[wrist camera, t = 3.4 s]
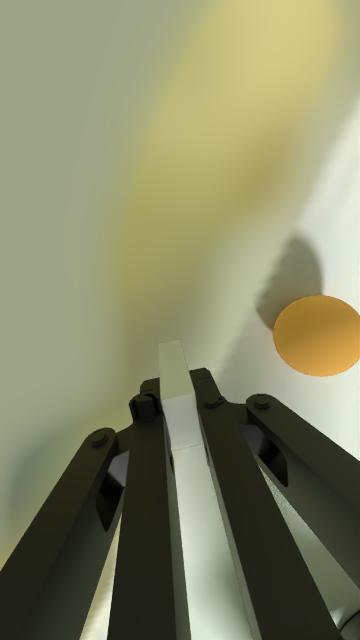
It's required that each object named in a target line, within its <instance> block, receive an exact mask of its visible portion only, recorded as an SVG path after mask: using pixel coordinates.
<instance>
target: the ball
mask: <svg viewBox="0 0 360 640" xmlns="http://www.w3.org/2000/svg"><path fill="white" fill-rule="evenodd" d="M273 339H274V344H275V347H276V350H277V352H278V353H279V355H280V356H281V358H282V359H283V360H284V361H285V362H286V363H287V364H288V365H289V366H290V367H292V368H293V369H295V370H297V371H299V372H301V373H304V374H307V375H311V376H320V377H322V376H332V375H336V374H339V373H341V372H344V371H346V370H348V369H349V368H351V367H352V366H353V365H354V364H355V363H356V362H357V361H358V360H359V359H360V315H359V314H358V313H357V311H356V310H355V309H353V308H352V307H351V306H350V305H348V304H347V303H345V302H344V301H342V300H340V299H337V298H334V297H330V296H323V295H313V296H307V297H303V298H300V299H298V300H296V301H294V302H292V303H291V304H289V305H288V306H287V307H285V308H284V309H283V311H282V312H281V313H280V314H279V316H278V318H277V320H276V322H275V325H274V330H273Z"/></svg>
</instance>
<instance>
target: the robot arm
mask: <svg viewBox="0 0 360 640" xmlns="http://www.w3.org/2000/svg"><path fill="white" fill-rule="evenodd" d="M158 352H159V373H160V378H155V379H150V380H146V381H144V382H143V383H142V385H141V386H140V394H138V395H137V396H135V397H133V398H132V399H131V400H130V403H129V407H130V411H131V414H132V418H133V424H131V425H130V426H129V427H127V428H126V429H124V430H122V431H119V432H117V433H115V430H113V429H112V428H101V429H98V430H96V431H94V432H93V433H91V434H90V435H89V436H88V437H87V438H86V439H85V440H84V442H83V443H82V445H81V447H80V448H79V450H78V451H77V453H76V454H75V456H74V457H73V459H72V460H71V462H70V464H69V465H68V467H67V468H66V470H65V472H64V473H63V474H62V476H61V478H60V479H59V481H58V482H57V484H56V485H55V487H54V488H53V490H52V492H51V493H50V495H49V496H48V498H47V499H46V501H45V503H44V504H43V505H42V507H41V509H40V510H39V512H38V513H37V515H36V516H35V518H34V519H33V521H32V523H31V524H30V526H29V527H28V529H27V531H26V532H25V533H24V535H23V537H22V538H21V540H20V541H19V543H18V544H17V546H16V548H15V549H14V551H13V552H12V554H11V555H10V557H9V558H8V560H7V562H6V563H5V565H4V566H3V568H2V570H1V571H0V640H79V639H80V636H81V633H82V630H83V627H84V624H85V621H86V618H87V615H88V612H89V609H90V606H91V603H92V599H93V597H94V594H95V591H96V588H97V585H98V582H99V579H100V576H101V573H102V570H103V567H104V564H105V561H106V558H107V555H108V552H109V549H110V546H111V543H112V540H113V537H114V534H115V531H116V528H117V525H118V522H119V519H120V516H121V513H122V517H121V526H120V534H119V542H118V551H117V559H116V568H115V576H114V584H113V593H112V601H111V610H110V618H109V626H108V635H107V640H191V632H190V622H189V611H188V601H187V591H186V581H185V571H184V560H183V550H182V540H181V530H180V520H179V510H178V499H177V489H176V479H175V469H174V460H173V455H172V451H173V450H178V449H182V448H187V447H191V446H196V445H200V444H204V447H205V452H206V458H207V464H208V466H209V468H210V472H211V476H212V480H213V484H214V488H215V492H216V496H217V500H218V504H219V508H220V512H221V516H222V520H223V524H224V528H225V532H226V536H227V540H228V544H229V548H230V551H231V555H232V559H233V563H234V567H235V571H236V575H237V579H238V583H239V587H240V591H241V595H242V599H243V603H244V607H245V611H246V615H247V619H248V623H249V627H250V631H251V635H252V638H253V640H360V613H358V614H357V615H356V616H354V617H353V618H352V619H351V620H350V621H349V622H348V623H347V624H346V625H345V626H344V627H343V629H342V630H341V632H339V630H338V629H337V627H336V625H335V623H334V621H333V619H332V617H331V615H330V613H329V611H328V609H327V607H326V605H325V603H324V601H323V598H322V596H321V594H320V592H319V590H318V588H317V586H316V584H315V582H314V580H313V578H312V576H311V574H310V572H309V570H308V567H307V565H306V563H305V561H304V559H303V557H302V555H301V553H300V551H299V549H298V547H297V545H296V543H295V541H294V538H293V536H292V534H291V532H290V530H289V528H288V526H287V524H286V522H285V520H284V518H283V516H282V514H281V512H280V510H279V507H278V505H277V503H276V501H275V499H274V497H273V495H272V493H271V491H270V489H269V487H268V485H267V483H266V481H265V479H264V476H263V474H262V472H261V470H260V468H259V466H260V467H261V468H262V470H263V471H264V472H265V473H266V475H267V476H268V477H269V478H270V480H271V481H272V482H273V483H274V484H275V486H276V487H277V488H278V489H279V491H280V492H281V493H282V494H283V496H284V497H285V498H286V499H287V500H288V502H289V503H290V504H291V505H292V507H293V508H294V509H295V510H296V511H297V513H298V514H299V515H300V516H301V518H302V519H303V520H304V521H305V523H306V524H307V525H308V526H309V527H310V529H311V530H312V531H313V532H314V534H315V535H316V536H317V537H318V539H319V540H320V541H321V542H322V543H323V545H324V546H325V547H326V548H327V550H328V551H329V552H330V553H331V554H332V556H333V557H334V558H335V559H336V561H337V562H338V563H339V564H340V566H341V567H342V568H343V569H344V570H345V572H346V573H347V574H348V575H349V577H350V578H351V579H352V580H353V582H354V583H355V584H356V585H357V586H358V588H359V589H360V461H359V460H357V459H356V458H355V457H353V456H352V455H351V454H349V453H348V452H347V451H345V450H344V449H343V448H341V447H340V446H339V445H337V444H336V443H335V442H333V441H332V440H331V439H329V438H328V437H327V436H325V435H324V434H323V433H321V432H320V431H319V430H317V429H316V428H315V427H313V426H312V425H311V424H309V423H308V422H307V421H305V420H304V419H303V418H301V417H300V416H299V415H297V414H296V413H295V412H293V411H292V410H291V409H289V408H288V407H287V406H285V405H284V404H283V403H281V402H280V401H278V400H277V399H276V398H274V397H272V396H271V395H267V394H255V395H252V396H250V397H248V399H247V400H246V404H235V403H230V402H228V401H227V400H226V399H225V398H224V397H223V396H221V394H220V392H219V390H218V388H217V386H216V384H215V381H214V379H213V377H212V375H211V373H210V371H209V370H207V369H206V368H200V369H195V370H190V371H188V367H187V364H186V360H185V357H184V353H183V350H182V347H181V343H180V340H174V341H169V342H164V343H159V344H158ZM171 448H172V450H171ZM258 465H259V466H258Z"/></svg>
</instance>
